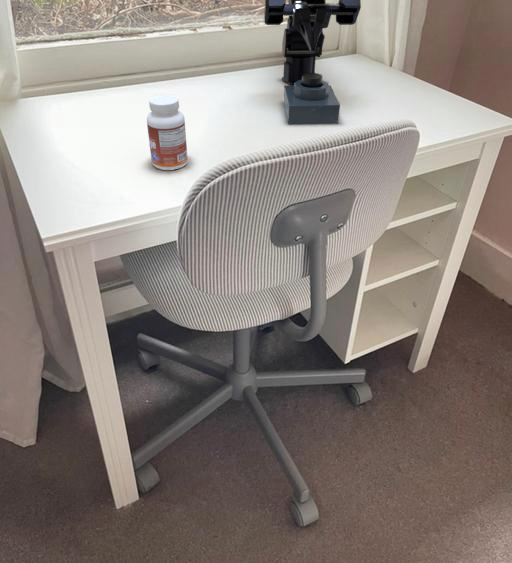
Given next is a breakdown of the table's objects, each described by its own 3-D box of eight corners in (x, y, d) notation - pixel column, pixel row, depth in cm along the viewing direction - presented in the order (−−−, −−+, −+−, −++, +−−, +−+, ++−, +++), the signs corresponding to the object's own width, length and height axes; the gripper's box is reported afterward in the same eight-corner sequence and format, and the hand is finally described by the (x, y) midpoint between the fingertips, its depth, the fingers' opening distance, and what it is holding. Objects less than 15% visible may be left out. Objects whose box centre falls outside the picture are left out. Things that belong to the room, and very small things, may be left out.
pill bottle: (151, 156, 94) (144, 93, 88) (186, 154, 95) (181, 91, 88) (152, 172, 90) (144, 107, 83) (189, 169, 90) (184, 104, 84)
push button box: (283, 103, 116) (284, 75, 113) (329, 103, 117) (331, 74, 113) (288, 124, 107) (289, 94, 103) (338, 123, 107) (341, 93, 104)
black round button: (300, 83, 110) (301, 72, 109) (320, 83, 110) (320, 72, 109) (302, 89, 107) (303, 79, 106) (322, 89, 107) (323, 78, 106)
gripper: (266, -53, 100) (268, 26, 98) (365, -52, 100) (369, 25, 98) (263, -13, 111) (265, 58, 109) (352, -13, 111) (356, 58, 109)
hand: (312, 50), depth 106 cm, fingers closed
